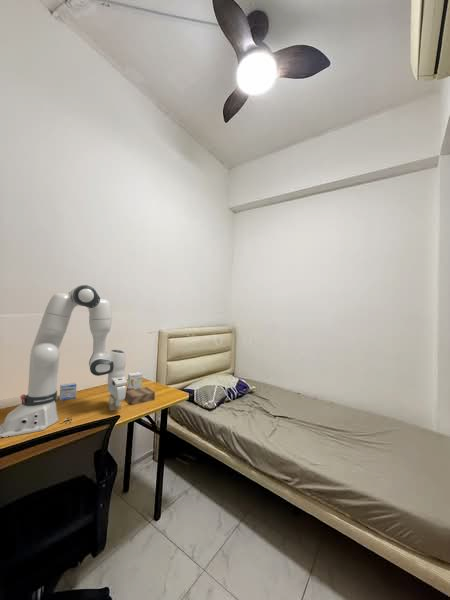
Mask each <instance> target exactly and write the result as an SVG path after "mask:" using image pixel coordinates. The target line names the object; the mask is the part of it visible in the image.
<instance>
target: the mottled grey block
mask: <svg viewBox="0 0 450 600" xmlns="http://www.w3.org/2000/svg"><path fill="white" fill-rule="evenodd" d="M115 402H116V398H115V397H114V396H112V395H111V394H109V397H108V409H109V410H110V411H112V412H113V411H116V410H120V409H122V400H120V402H119V405H118V406H116V405H115Z"/></svg>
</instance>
